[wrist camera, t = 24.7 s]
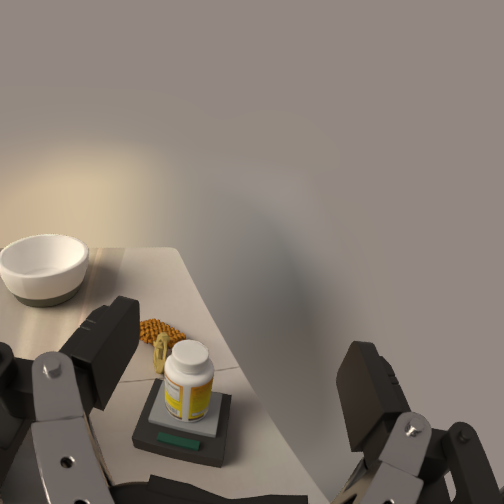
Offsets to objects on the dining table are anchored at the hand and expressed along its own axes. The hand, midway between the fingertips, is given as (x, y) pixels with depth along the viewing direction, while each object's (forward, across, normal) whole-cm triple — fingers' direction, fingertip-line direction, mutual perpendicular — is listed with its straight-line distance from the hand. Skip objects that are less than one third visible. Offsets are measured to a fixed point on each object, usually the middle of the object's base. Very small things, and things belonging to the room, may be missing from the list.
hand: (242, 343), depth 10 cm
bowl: (+36, +43, +28) cm, 63 cm away
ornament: (+28, +12, +28) cm, 41 cm away
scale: (+14, +4, +28) cm, 31 cm away
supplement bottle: (+15, +4, +25) cm, 29 cm away
